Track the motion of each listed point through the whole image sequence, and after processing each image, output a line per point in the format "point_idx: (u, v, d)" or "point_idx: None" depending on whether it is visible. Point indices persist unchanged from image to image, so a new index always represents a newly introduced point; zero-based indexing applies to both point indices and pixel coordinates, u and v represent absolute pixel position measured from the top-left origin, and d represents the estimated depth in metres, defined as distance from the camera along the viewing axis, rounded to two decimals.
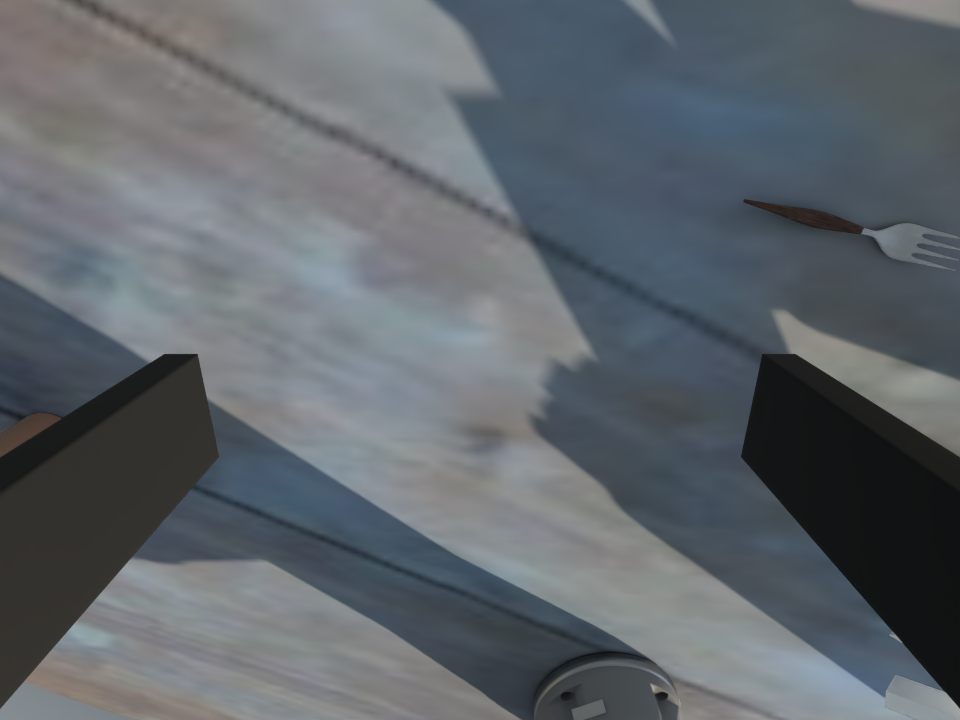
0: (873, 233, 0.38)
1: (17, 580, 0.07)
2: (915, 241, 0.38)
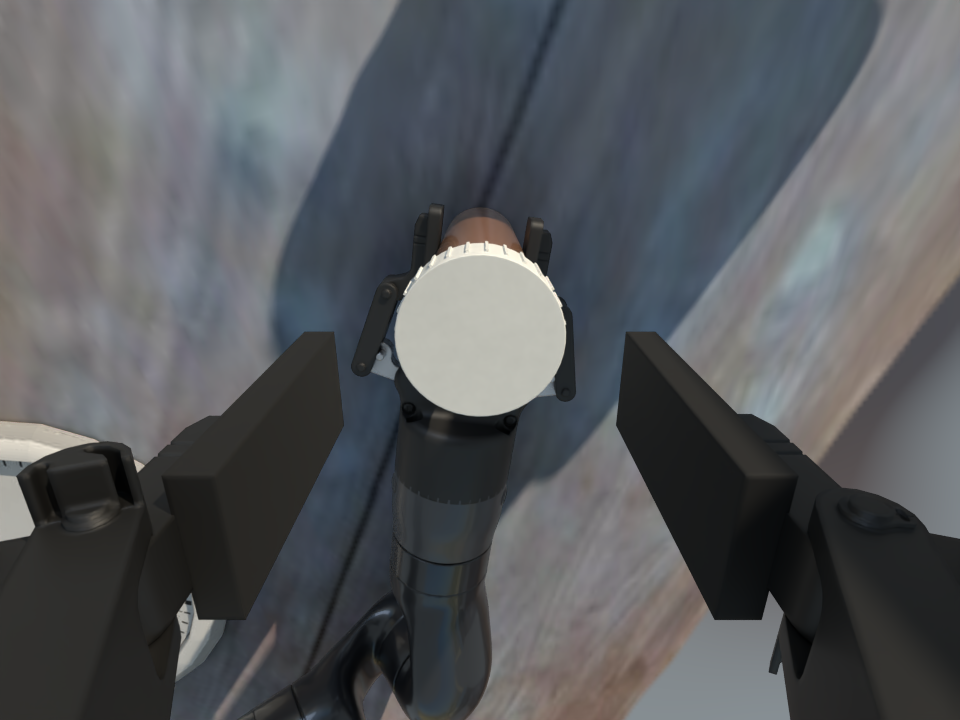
0: None
1: (257, 507, 0.09)
2: None
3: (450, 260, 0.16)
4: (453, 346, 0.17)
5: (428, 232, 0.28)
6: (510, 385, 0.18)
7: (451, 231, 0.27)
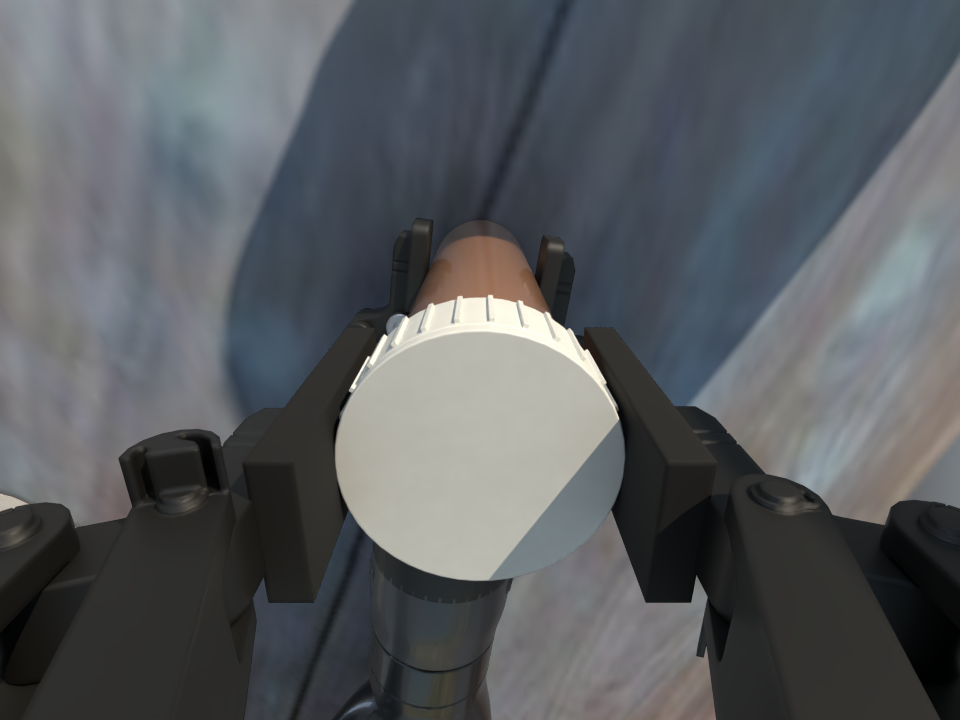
0: None
1: (321, 494, 0.09)
2: None
3: (427, 340, 0.09)
4: (434, 477, 0.10)
5: (411, 257, 0.21)
6: (530, 536, 0.11)
7: (441, 257, 0.20)
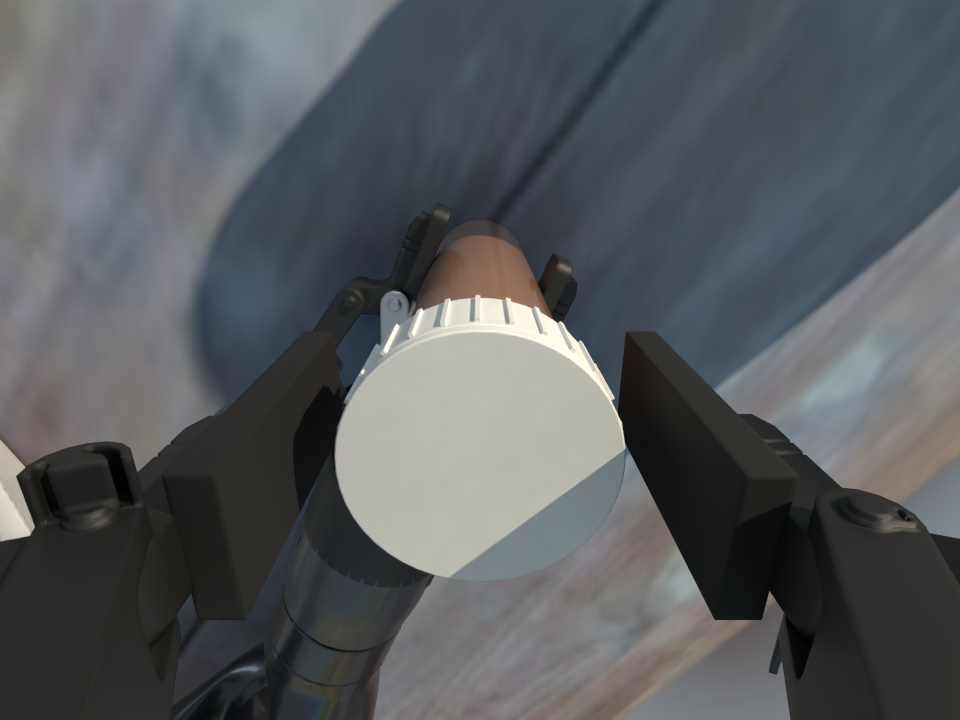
0: None
1: (256, 507, 0.09)
2: None
3: (336, 439, 0.10)
4: (463, 505, 0.10)
5: (425, 239, 0.21)
6: (578, 470, 0.10)
7: (456, 247, 0.20)
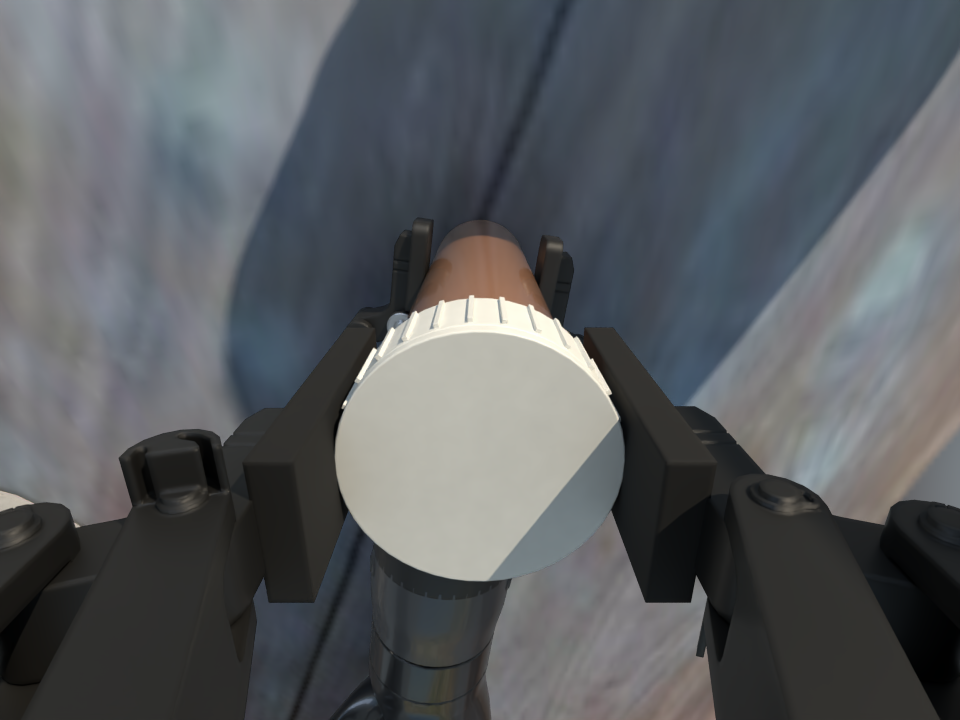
0: None
1: (321, 494, 0.09)
2: None
3: (336, 473, 0.10)
4: (475, 507, 0.10)
5: (411, 256, 0.22)
6: (577, 447, 0.10)
7: (441, 256, 0.21)
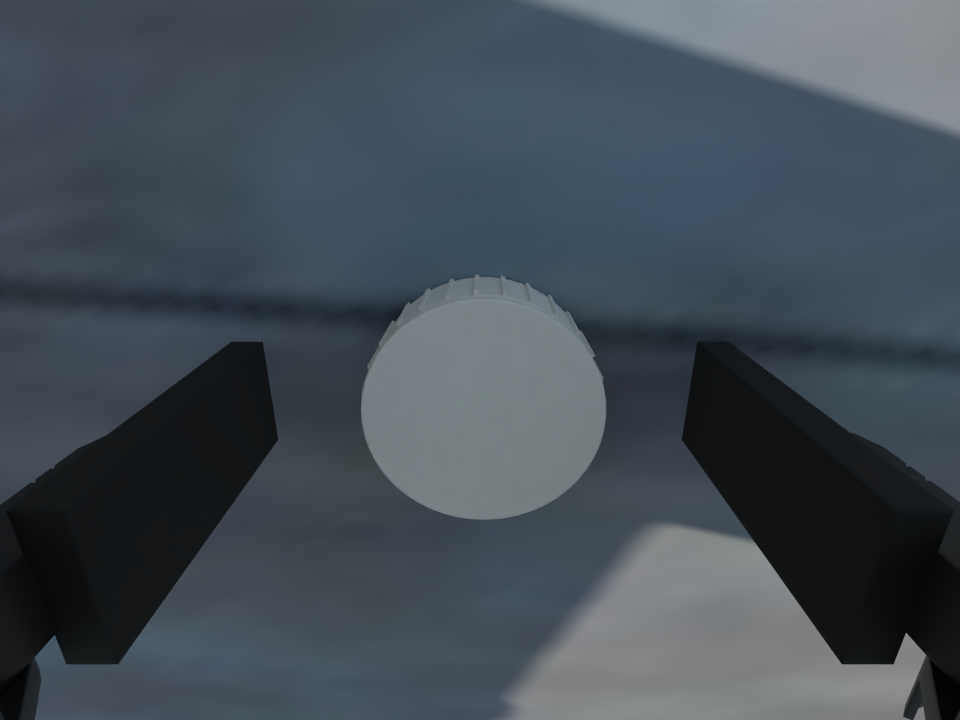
0: None
1: (137, 539, 0.08)
2: None
3: (362, 421, 0.12)
4: (479, 453, 0.12)
5: None
6: (565, 400, 0.12)
7: None
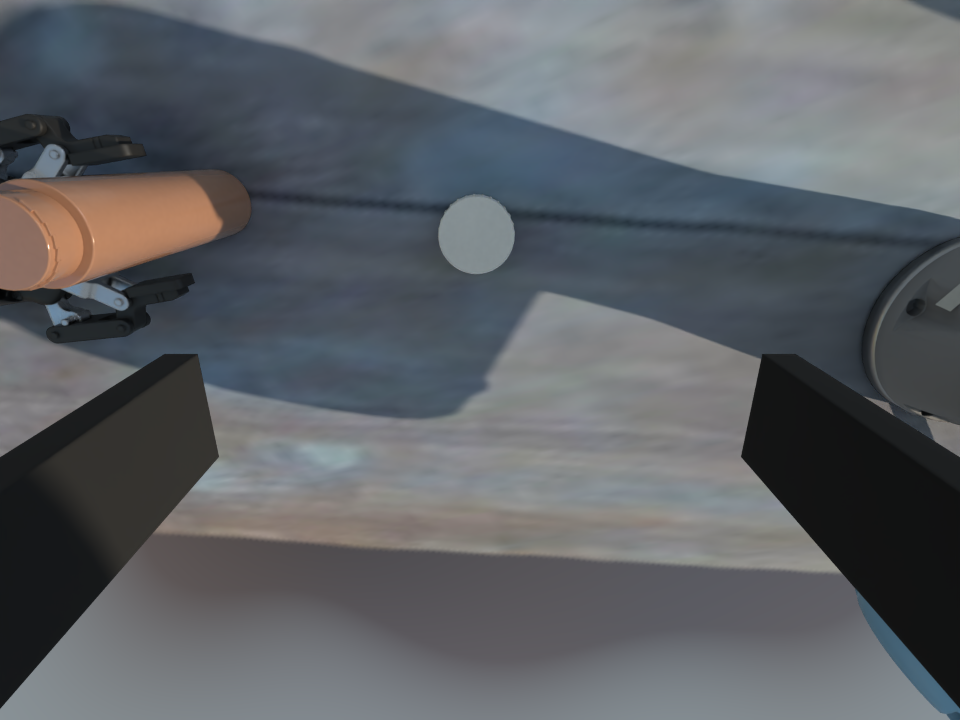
0: None
1: (17, 580, 0.07)
2: None
3: (438, 237, 0.38)
4: (475, 248, 0.39)
5: (103, 149, 0.32)
6: (501, 229, 0.38)
7: (173, 179, 0.31)
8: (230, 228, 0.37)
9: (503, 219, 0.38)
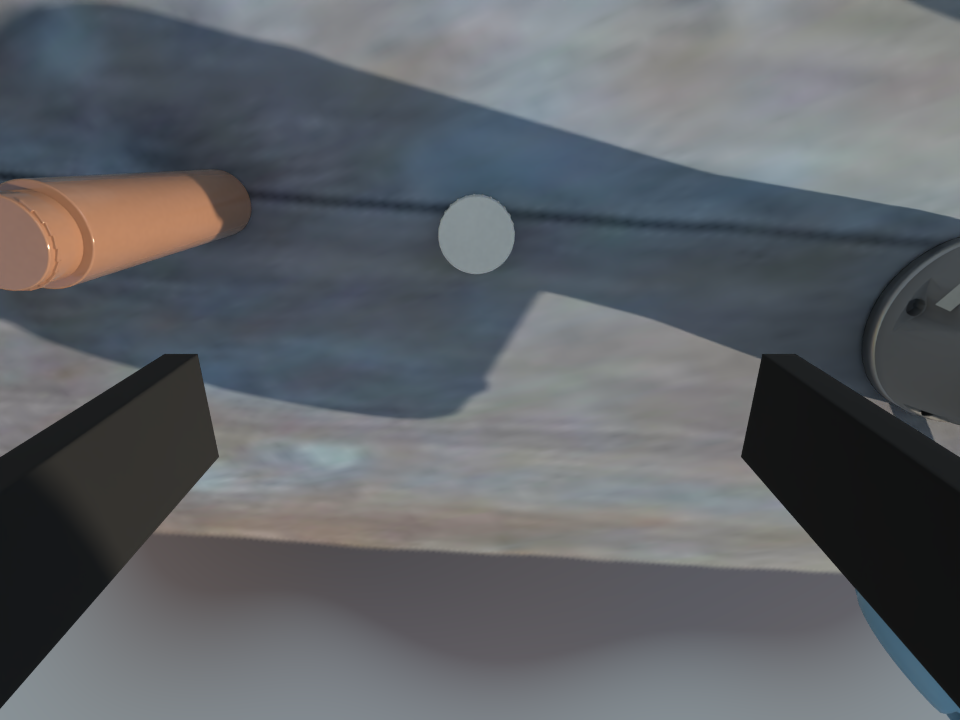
0: None
1: (17, 580, 0.07)
2: None
3: (438, 237, 0.38)
4: (475, 248, 0.39)
5: None
6: (501, 229, 0.38)
7: (173, 179, 0.31)
8: (230, 228, 0.37)
9: (503, 219, 0.38)
